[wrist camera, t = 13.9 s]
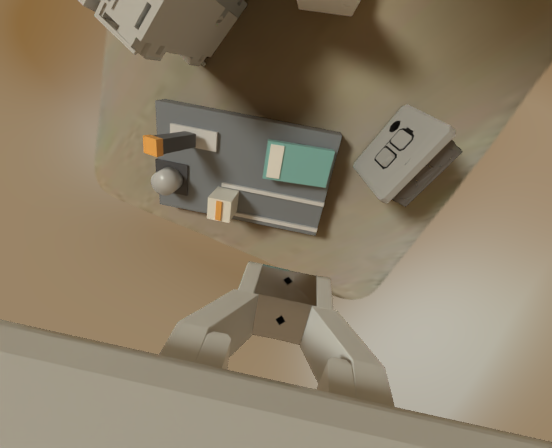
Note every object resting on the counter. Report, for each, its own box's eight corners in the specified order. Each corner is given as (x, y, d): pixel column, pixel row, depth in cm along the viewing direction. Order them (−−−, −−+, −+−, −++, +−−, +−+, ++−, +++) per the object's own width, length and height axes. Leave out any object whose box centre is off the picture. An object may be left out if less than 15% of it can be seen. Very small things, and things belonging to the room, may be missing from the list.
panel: (163, 98, 36) (150, 100, 33) (340, 132, 35) (342, 136, 32) (166, 197, 42) (156, 205, 40) (315, 227, 42) (315, 238, 39)
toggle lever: (184, 129, 34) (142, 135, 28) (196, 133, 33) (156, 139, 28) (184, 144, 35) (144, 152, 29) (196, 148, 34) (156, 157, 29)
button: (159, 164, 37) (150, 169, 35) (182, 169, 37) (174, 174, 35) (160, 186, 38) (151, 192, 36) (182, 191, 38) (175, 197, 36)
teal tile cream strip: (262, 175, 35) (262, 178, 34) (267, 139, 33) (267, 140, 32) (324, 185, 36) (325, 188, 34) (333, 149, 33) (335, 151, 32)
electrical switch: (404, 101, 33) (441, 115, 25) (434, 127, 34) (478, 147, 26) (350, 164, 37) (367, 193, 29) (379, 185, 38) (402, 218, 30)
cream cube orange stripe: (217, 186, 38) (207, 197, 34) (239, 190, 38) (230, 202, 34) (216, 206, 39) (206, 219, 35) (237, 210, 39) (228, 223, 35)
